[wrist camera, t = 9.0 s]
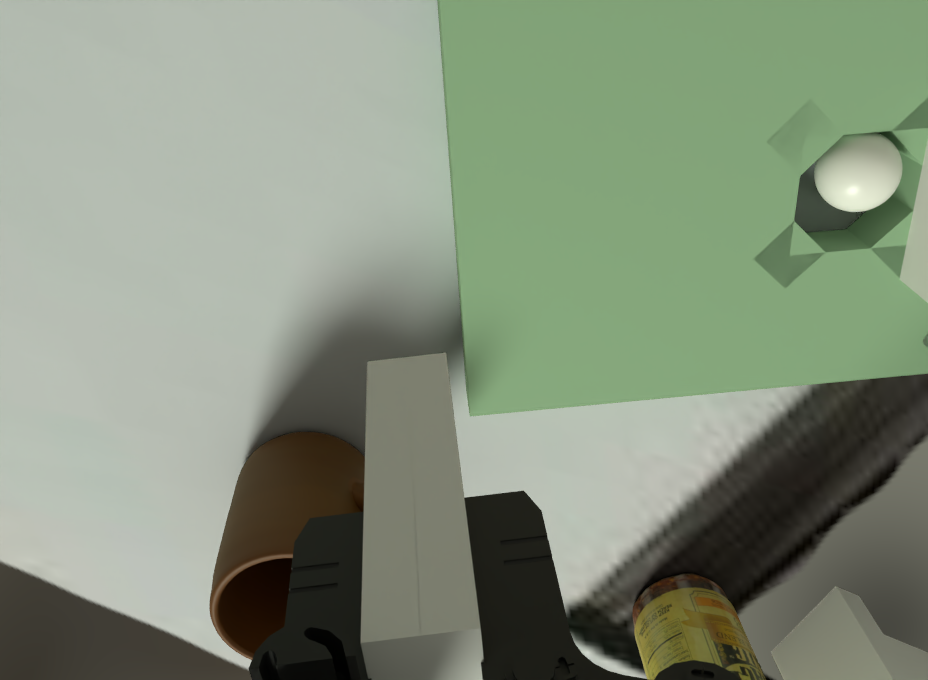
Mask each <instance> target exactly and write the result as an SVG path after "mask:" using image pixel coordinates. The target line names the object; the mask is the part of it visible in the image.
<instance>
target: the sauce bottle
mask: <svg viewBox="0 0 928 680" xmlns="http://www.w3.org/2000/svg"><path fill="white" fill-rule="evenodd" d="M633 622H634V627H635V638H636V642H637V645H638V649H639V652H640V655H641V659H642V662H643V666H644V669H645V673H646V676H647V679H649V680H654V679H655V678H656V676H657V675H658V673H659V672H660V671H662V670H664V669H666V668H667V667H669V666H671V665H672V664H674V663H679V662H685V661H691V660H697V661H703V662H709V663H715V664H717V665H719V666H721V667H723V668H725V669H727V670H729V671H731V672H733V673H734V674H735V675H736V676H737V677H738V678H740V679H741V680H766V679H765V676H764V674H763V671H762V669H761V666H760V664H759V663H758V661H757V659H756V656H755V654H754V652H753V649H752V647H751V645H750V643H749V641H748V638H747V636H746V634H745V632H744V629H743V627H742V625H741V622H740V620H739V618H738V616H737V613H736V611H735V609H734V607H733V606H732V604H731V603H730V602H729V601H728V599H727V596H726V594H725V593H724V592H723V590H722V588H721V587H719V586H718V585H717V584H715V583H714V582H712V581H711V580H709V579H706V578H703V577H701V576H699V575H696V574H692V573H687V574H685V573H683V574H680V575H677V576H671V577H668V578H663V579H661V580H660V581H658V582H656V583H654V584H652V585H651V586H649V587H648V588H646V589H645V591H644V592H643V593H642V594H641V595H640V596H639V598H638V599H637V601H636V602H635V604H634V606H633Z"/></svg>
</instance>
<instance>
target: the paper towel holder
mask: <svg viewBox="0 0 928 680" xmlns="http://www.w3.org/2000/svg"><path fill="white" fill-rule="evenodd" d="M771 655H772V657H773V659H774V661H775V663H776V665H777V667H778V670H779V672H780V674H781V676H782V678H783V680H928V652H926V651H924V650H921V649H919V648H916V647H914V646H911V645H909V644H907V643H904V642H902V641H899V640H897V639H894V638H892V637H889V636H887V635H884V634H883V633H882V631H881V629H880V628H879V626H878V625H877V623H876V621H875V620H874V618H873V617H872V615H871V614H870V612H869V610H868V609H867V607H866V606H865V604H864V603H863V601H862V599H861V598H860V596H859V595H857V594H854V593H852V592H850V591H847V590H845V589H842V588H840V587H838V586H835V587H834V589H832V591H830V593H829V594H828V595H827V596H826V597H825V598H824V599H823V600H822V601H821V602H820V603H819V604H818V605H817V606H816V607H815V608H814V609H813V610H812V611H811V612H810V613H809V614H808V615H807V616H806V617H805V618H804V619H803V620H802V621H801V622H800V623H799V624H798V625H797V626H796V627H795V628H794V629H793V630H792V631H791V632H790V633H789V634H788V635H787V636H786V637H785V638H784V639H783V640H782V641H781V642H780V644H778V645H777V646H776V647H775V649H773V651H771Z"/></svg>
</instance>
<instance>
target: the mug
mask: <svg viewBox="0 0 928 680" xmlns="http://www.w3.org/2000/svg"><path fill="white" fill-rule="evenodd" d="M364 478H365V457H364V456H363V455H362V454H361V453H360V452H359V451H358V450H357V449H356V448H354V447H353V446H352V445H350V444H349V443H347V442H345V441H344V440H341V439H339V438H337V437H334V436H331V435H328V434H323V433H317V432H296V433H290V434H286V435H282V436H280V437H277V438H274V439H272V440H270V441H268V442H266V443H265V444H263V445H262V446H260V447H259V448H258V449H257V450H256V451H254V452H253V453H252V455H251V456H250V457H249V458H248V460H247V461H246V463H245V464H244V466H243V468H242V470H241V472H240V475H239V477H238V480H237V484H236V487H235V491H234V495H233V499H232V503H231V506H230V510H229V513H228V517H227V521H226V525H225V529H224V533H223V537H222V541H221V545H220V549H219V553H218V557H217V561H216V565H215V570H214V575H213V582H212V591H211V596H210V615H211V619H212V622H213V625H214V627H215V629H216V631H217V633H218V634H219V636H220V637H221V638H222V640H223V641H224V642H225V643H226V644H227V645H228V646H229V647H231V648H232V649H233V650H235V651H236V652H238V653H239V654H241V655H243V656H244V657H246V658H249V659H251V660H252V659H253V656H254V654H255V651H256V650H257V649H258V648H259V647H260V646H261V644H262V643H263V642H264V641H265V640H266V639H267V638H268V637H269V636H270V635H272V634H273V633H275V632H277V631H278V630H280V629H281V628H283V627H284V625H285V617H286V608H287V600H288V594H289V583H290V575H291V573H292V569H291V567H292V558H293V550H294V542H295V540H296V539H297V537H298V536H299V534H300V533H301V531H302V530H303V528H304V526H305V525H306V523H307V522H308V520H309V519H310V518H315V517H323V516H332V515H340V514H348V513H357V512H364Z"/></svg>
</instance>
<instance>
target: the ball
mask: <svg viewBox="0 0 928 680" xmlns="http://www.w3.org/2000/svg"><path fill="white" fill-rule="evenodd" d="M902 170H903V168H902V159H901V156H900V153H899V151H898V149H897V148H896V146H895V145H894V144H893V143H892V142H891V141H890V140H889V139H888V138H886V137H885V136H883V135H881V134H879V133H876V132H872V133H861V134H849V135H843V136H842V137H841V138H840V139H839V140H838V141H837V142H836V143H835V144H834V145H833V146H831V147H830V148H829V149H828V150H827V151H826V152H825V153H824V154H823V155H822V156H821V157H820V158H819V159H818V160H817V161H816V165H815V170H814V178H815V184H816V187H817V189H818V192H819V193H820V195H821V196H822V197H823V199H824V200H825V201H826V202H828V203H829V204H830V205H832V206H833V207H835V208H838V209H840V210H843V211H848V212H862V211H867V210H870V209H873V208H875V207H877V206H879V205H881V204H882V203H884V202H885V201H886V200H888V199H889V198H890V197H891V196H892V194H893V193H894V192H895V190H896V189H897V187H898V185H899V183H900V180H901V177H902Z"/></svg>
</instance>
